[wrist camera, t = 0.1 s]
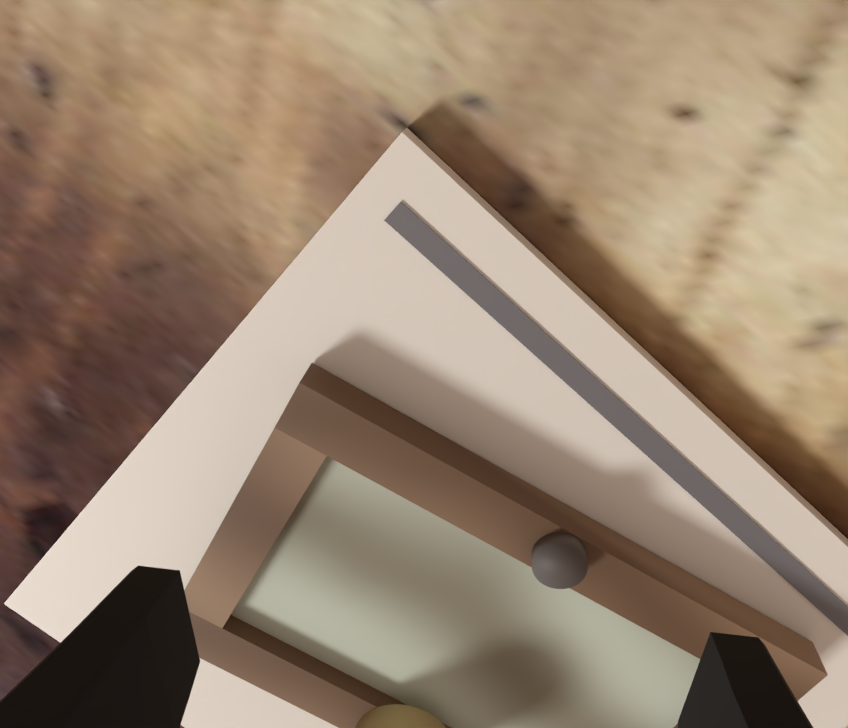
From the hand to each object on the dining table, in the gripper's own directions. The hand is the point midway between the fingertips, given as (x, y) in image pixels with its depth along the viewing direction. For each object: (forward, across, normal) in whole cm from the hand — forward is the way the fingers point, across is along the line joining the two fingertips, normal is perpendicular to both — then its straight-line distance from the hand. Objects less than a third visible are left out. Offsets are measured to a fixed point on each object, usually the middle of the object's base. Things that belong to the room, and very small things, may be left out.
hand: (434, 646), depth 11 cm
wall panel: (+9, 0, +10) cm, 14 cm away
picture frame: (+8, -1, +10) cm, 13 cm away
